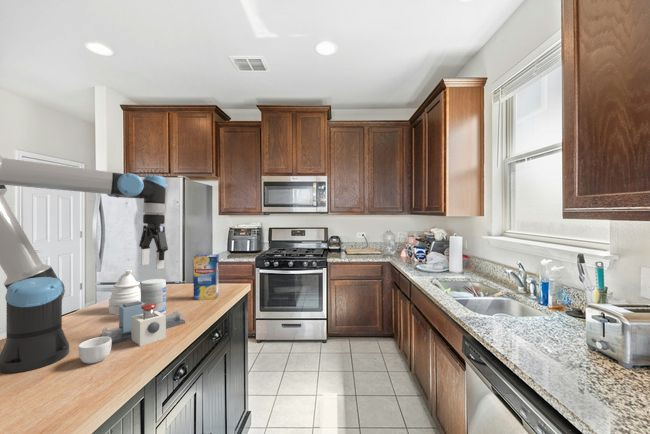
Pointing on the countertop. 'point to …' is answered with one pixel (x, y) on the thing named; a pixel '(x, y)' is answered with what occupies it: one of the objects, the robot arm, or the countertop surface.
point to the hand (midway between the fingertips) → (152, 266)
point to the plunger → (148, 310)
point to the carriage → (129, 314)
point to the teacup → (95, 349)
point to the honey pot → (124, 292)
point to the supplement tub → (154, 293)
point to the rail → (128, 335)
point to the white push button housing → (148, 328)
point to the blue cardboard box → (206, 277)
